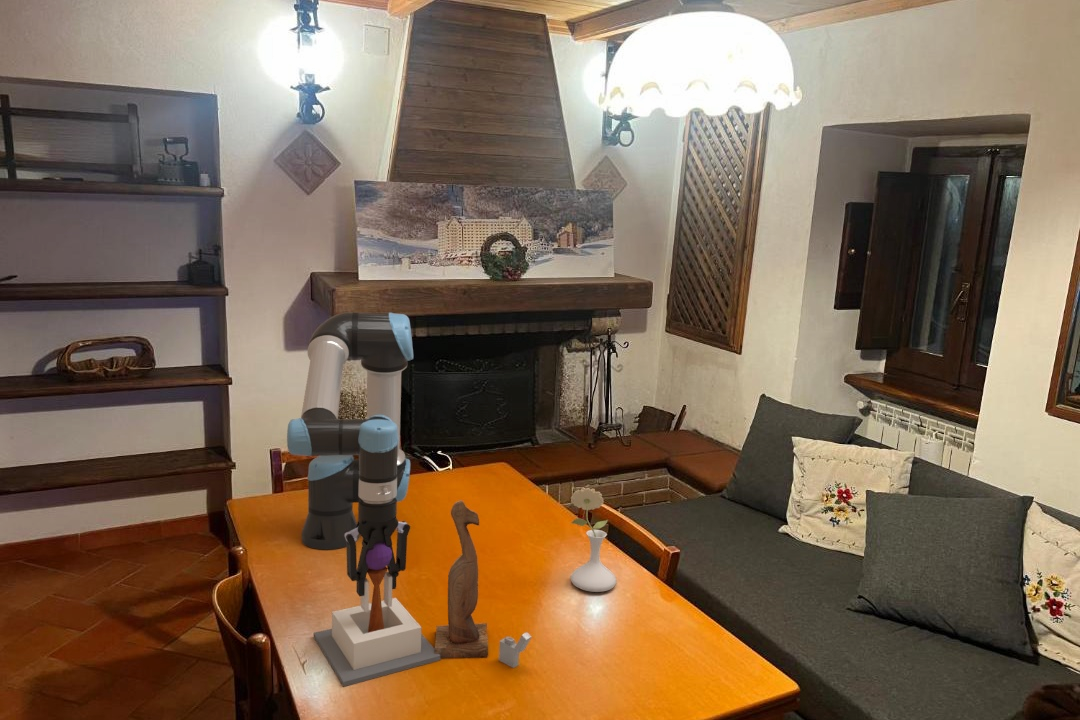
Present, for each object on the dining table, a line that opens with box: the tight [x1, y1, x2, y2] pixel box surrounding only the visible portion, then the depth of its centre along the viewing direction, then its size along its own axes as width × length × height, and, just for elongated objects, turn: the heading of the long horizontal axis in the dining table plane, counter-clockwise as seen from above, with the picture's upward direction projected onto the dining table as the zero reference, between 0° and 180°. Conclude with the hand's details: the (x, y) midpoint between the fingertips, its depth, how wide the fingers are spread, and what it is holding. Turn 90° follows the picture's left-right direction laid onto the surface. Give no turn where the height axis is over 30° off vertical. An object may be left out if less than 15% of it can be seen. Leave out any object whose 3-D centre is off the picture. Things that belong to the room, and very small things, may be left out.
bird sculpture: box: [434, 500, 489, 660], centre depth 163 cm, size 11×12×32 cm
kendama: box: [366, 543, 392, 633], centre depth 160 cm, size 6×6×20 cm
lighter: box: [498, 632, 532, 669], centre depth 159 cm, size 7×2×8 cm, turn 50°
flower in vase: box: [570, 487, 617, 593], centre depth 194 cm, size 13×11×25 cm
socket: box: [313, 597, 441, 688], centre depth 162 cm, size 20×20×6 cm
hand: (376, 606), depth 161 cm, fingers closed on kendama, 4 cm apart
